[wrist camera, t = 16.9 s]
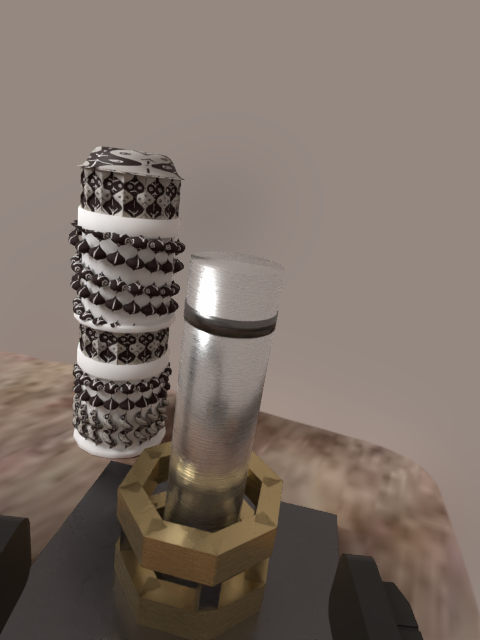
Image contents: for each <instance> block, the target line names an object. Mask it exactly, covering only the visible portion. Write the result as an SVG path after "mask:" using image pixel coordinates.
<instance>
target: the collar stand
mask: <svg viewBox="0 0 480 640" xmlns="http://www.w3.org/2000/svg"><path fill="white" fill-rule="evenodd" d="M171 443H172V441H170V442H167V443H163V444H159V445H156V446H152V447H148V448H144V450H143V451H142V453H141V454H140V456H139V457H138V459H137V460H136V462H135V463H134V465H133V466H131V465H127V464H122V463H118V462H114V461H111V462H110V463H109V464H108V466H107V467H106V468H105V470H104V471H103V472H102V474H101V475H100V476H99V478H98V479H97V480H96V482H95V483H94V484H93V485H92V487H91V488H90V489H89V491H88V492H87V493H86V495H85V496H84V497H83V499H82V500H81V501H80V503H79V504H78V505H77V506H76V508H75V509H74V510H73V512H72V513H71V514H70V516H69V517H68V518H67V520H66V521H65V522H64V524H63V525H62V526H61V527H60V529H59V530H58V531H57V533H56V534H55V535H54V537H53V538H52V539H51V541H50V542H49V543H48V544H47V546H46V547H45V548H44V550H43V551H42V552H41V554H40V555H39V556H38V558H37V559H36V560H35V562H34V563H33V564H32V565H31V568H30V573H29V577H28V580H27V583H26V586H25V588H24V590H23V592H22V594H21V596H20V598H19V600H18V602H17V604H16V606H15V608H14V609H13V611H12V613H11V615H10V617H9V619H8V621H7V623H6V625H5V627H4V629H3V630H2V632H1V634H0V640H333V639H332V634H331V629H330V623H329V614H328V604H329V595H330V591H331V588H332V584H333V581H334V577H335V573H336V570H337V566H338V563H339V554H338V533H337V515H335V514H331V513H327V512H322V511H318V510H314V509H310V508H306V507H302V506H297V505H293V504H289V503H285V502H281V493H282V485H283V480H282V479H280V478H279V477H278V476H277V475H276V474H275V473H274V472H273V471H272V470H271V469H270V468H269V467H268V466H267V465H266V464H265V463H264V462H263V461H262V460H261V459H260V458H259V457H258V456H257V455H256V454H255V453H254V452H253V451H252V453H251V459H250V464H249V470H248V475H247V481H246V486H245V492H244V498H243V503H242V509H241V514H240V520H239V522H238V523H236V524H233V525H231V526H229V527H226V528H224V529H222V530H220V531H217V532H215V533H211V532H207V531H203V530H199V529H195V528H191V527H187V526H183V525H179V524H175V523H171V522H167V521H164V511H165V501H166V491H167V482H168V472H169V463H170V453H171ZM160 573H164V574H168V575H171V576H175V577H179V578H182V579H186V580H190V581H193V582H197V587H196V589H193V588H190V587H186V586H182V585H179V584H175V583H171V582H168V581H164V580H162V578H161V575H160ZM225 580H227V581H225ZM223 581H225V582H223ZM222 582H223V583H222Z"/></svg>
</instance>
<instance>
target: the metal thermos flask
mask: <svg viewBox="0 0 480 640" xmlns="http://www.w3.org/2000/svg"><path fill="white" fill-rule="evenodd" d="M284 271H285V270H284V267H282V266H281V265H279V264H277V263H275V262H272V261H270V260H266V259H263V258H258V257H255V256H249V255H244V254H238V253H229V252H198V253H195V254H193V255H191V261H190V271H189V280H188V291H187V297H186V300H185V310H184V319H185V320H184V329H183V338H182V348H181V357H180V367H179V377H178V386H177V396H176V405H175V415H174V424H173V434H172V443H171V453H170V463H169V472H168V482H167V491H166V501H165V511H164V521H167V522H171V523H175V524H179V525H183V526H187V527H191V528H195V529H199V530H203V531H207V532H211V533H215V532H217V531H220V530H222V529H224V528H226V527H229V526H231V525H233V524H236V523H238V522H239V520H240V514H241V509H242V503H243V498H244V492H245V486H246V481H247V475H248V470H249V464H250V459H251V453H252V448H253V442H254V437H255V431H256V426H257V420H258V415H259V409H260V404H261V398H262V392H263V387H264V381H265V375H266V370H267V365H268V359H269V354H270V348H271V342H272V337H273V332H274V330H275V327H276V320H277V316H278V304H279V298H280V293H281V288H282V282H283V276H284ZM160 575H161V578H162V580H164V581H168V582H171V583H175V584H179V585H182V586H186V587H190V588H193V589H196V587H197V582H193V581H190V580H186V579H182V578H179V577H175V576H171V575H168V574H164V573H160ZM225 581H227V580H225ZM225 581H223V582H225ZM223 582H222V583H223Z"/></svg>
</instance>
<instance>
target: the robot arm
mask: <svg viewBox="0 0 480 640" xmlns="http://www.w3.org/2000/svg"><path fill="white" fill-rule="evenodd" d="M30 568H31V544H30V522H29V519H28V518H22V517H13V516H4V515H0V634H1V632H2V630H3V629H4V627H5V625H6V623H7V621H8V619H9V617H10V615H11V613H12V611H13V609H14V608H15V606H16V604H17V602H18V600H19V598H20V596H21V594H22V592H23V590H24V588H25V586H26V583H27V580H28V577H29V573H30ZM328 614H329V623H330V629H331V634H332V639H333V640H423V637H422V635H421V632H419V630H418V624H417V622H416V619H415V617H414V614H413V611H412V609H411V606H410V604H409V602H408V601H407V600H406V598H405V597H404V596H403V594H402V593H401V592H400V590H399V589H398V588H397V586H396V585H395V584H394V583H392V582H383V581H382V580H381V577H380V574H379V571H378V568H377V565H376V563H375V561H374V559H373V558H372V557H370V556H361V555H352V554H342V555H341V557H340V559H339V563H338V566H337V570H336V573H335V577H334V581H333V584H332V588H331V591H330V595H329V604H328Z"/></svg>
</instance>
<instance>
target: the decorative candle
mask: <svg viewBox="0 0 480 640" xmlns="http://www.w3.org/2000/svg"><path fill="white" fill-rule="evenodd" d="M78 166H81V205H80V206H79V207H78V220H75V221H74V222H76V223H72V225H73V226H75V227H76V228H75V229H73V230H72V231H70V233H69V236H70V237H69V242H70V244H72V245H74V246H75V248H76V249H77V250H78V251H77V252H76V254H75V255H74V256H73V257H72V258H71V263H72V265H71V268H72V270H73V271H75V272H77V273H75V274H73V275H72V277H71V279H72V282H71V287H72V288H73V289H75V290H77V297H76V298H75V299H74V300H73V305H74V307H73V311H74V317H75V318H76V319H77V320H78V322H79V323H80V342H79V345H78V349H77V362H76V363H75V364H74V369H75V370H74V371H73V375H74V376H75V377H76V379H75V380H74V384H75V386H74V387H73V391H74V392H75V393H76V394H75V396H74V399H73V402H74V403H73V406H72V408H73V411H74V415H73V416H74V419H73V426H74V427H75V430H74V439H75V441H76V442H77V444H78V446H79V448H81V449H83V450H84V451H86V452H88V453H89V454H91V455H94V456H98V457H103V458H108V459H121V458H132V457H135V456H138V455H140V454H141V453H142V451H143V450H144V448H148V447H152V446H156V445H159V444H160V443H161V441H162V439H163V438H164V436H165V433H166V430H165V424H164V421H165V420H167V419H168V416H167V415H166V414H165V413H166V407H167V406H168V405H169V401H168V400H166V399H165V398H167V396H168V394H167V390H169V389H170V384H169V383H168V380H169V378H168V376H169V375H171V373H172V370H171V368H170V363H169V347H168V336H169V326H171V324H172V323H173V322H174V321H175V314H174V312H175V311H176V309H178V304H177V303H176V302H175V301H174V300H173V299H171V296H173V295H176V294H177V293H178V292H179V290H180V287H179V285H178V284H176V283H175V282H174V281H172V272H173V274H174V273H176V272H178V271H180V270H182V269H183V268H184V265H183V263H182V262H180V261H179V260H178V259H177V260H176V259H174V253H175V254H176V255H178V254H179V253H182V252H183V251H184V250H185V245H184V244H183V243H181V242H180V241H179V239H178V240H177V242H176V241H175V237H176V236H178V235H179V230H180V217H179V216H178V209H179V201H180V187H181V180H184V179H182V178H180V176H179V175H178V174H177V171H176V169H175V167H174V164H173V163H172V161H171V160H170V159H169V158H168V157H167V156H163V155H158V154H153V153H146V152H140V151H133V150H125V149H118V148H111V147H97V148H95V149H94V150H93V151H92V153H91V154H90V156H89V157H88V159H87V160H86V162H85V163H84V164H82V165H78ZM77 221H78V226H77ZM79 235H81V236H82V241H80V238H79ZM81 261H82V262H81ZM81 278H82V285H81V281H80V279H81Z"/></svg>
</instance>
